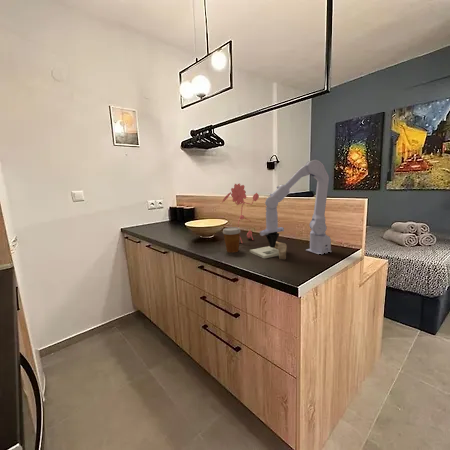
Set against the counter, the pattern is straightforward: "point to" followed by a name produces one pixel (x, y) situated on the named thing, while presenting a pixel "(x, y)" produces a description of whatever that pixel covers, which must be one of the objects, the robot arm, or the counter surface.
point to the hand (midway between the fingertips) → (272, 247)
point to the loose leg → (282, 250)
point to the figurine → (238, 196)
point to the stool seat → (265, 252)
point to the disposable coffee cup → (232, 239)
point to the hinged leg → (278, 246)
